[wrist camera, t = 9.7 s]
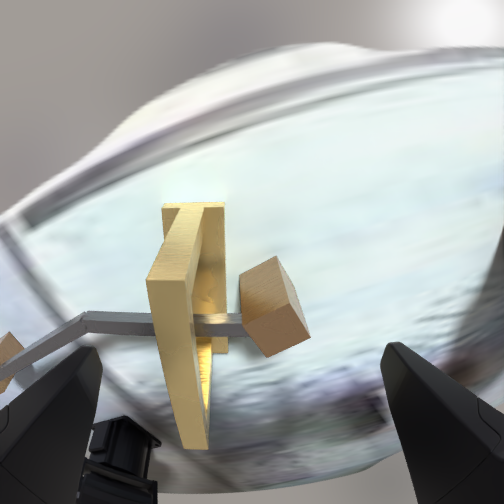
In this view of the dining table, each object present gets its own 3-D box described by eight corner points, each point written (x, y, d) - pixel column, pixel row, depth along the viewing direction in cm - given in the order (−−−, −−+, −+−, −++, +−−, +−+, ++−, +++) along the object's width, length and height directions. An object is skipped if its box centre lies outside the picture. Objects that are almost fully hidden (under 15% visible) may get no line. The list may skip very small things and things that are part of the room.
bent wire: (294, 286, 24) (310, 337, 19) (52, 395, 29) (35, 434, 23) (233, 183, 21) (233, 211, 15) (-2, 340, 25) (-27, 376, 20)
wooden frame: (228, 343, 26) (228, 449, 17) (180, 343, 26) (164, 447, 17) (224, 201, 21) (218, 280, 12) (165, 203, 21) (115, 280, 12)
